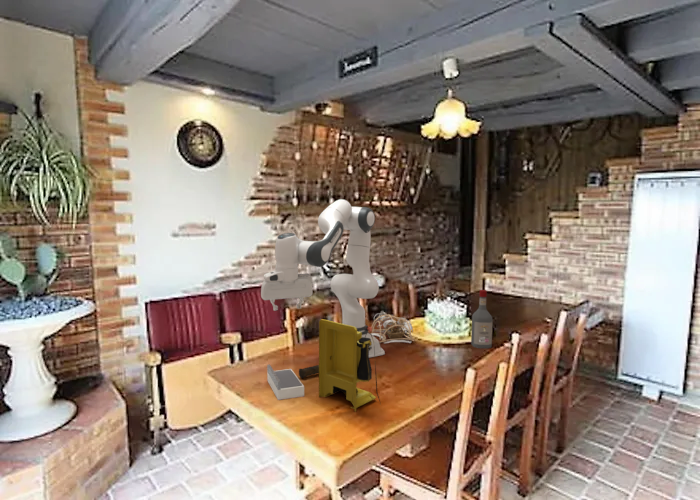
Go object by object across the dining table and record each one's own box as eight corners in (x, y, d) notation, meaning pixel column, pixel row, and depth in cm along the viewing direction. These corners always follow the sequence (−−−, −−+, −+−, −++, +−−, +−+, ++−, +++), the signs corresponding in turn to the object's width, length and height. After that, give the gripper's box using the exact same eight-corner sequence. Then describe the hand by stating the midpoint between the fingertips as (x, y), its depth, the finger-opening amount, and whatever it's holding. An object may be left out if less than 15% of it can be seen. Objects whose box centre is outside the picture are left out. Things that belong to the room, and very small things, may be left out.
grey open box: (291, 377, 185) (291, 361, 184) (304, 396, 166) (304, 378, 166) (267, 380, 181) (267, 364, 181) (278, 400, 163) (277, 382, 162)
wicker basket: (359, 346, 236) (359, 318, 233) (383, 325, 267) (384, 299, 264) (408, 356, 224) (409, 326, 221) (428, 332, 255) (429, 306, 252)
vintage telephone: (396, 406, 159) (398, 324, 156) (372, 419, 148) (373, 332, 146) (334, 383, 180) (334, 310, 177) (309, 393, 169) (309, 316, 167)
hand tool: (302, 380, 182) (303, 369, 181) (297, 376, 185) (298, 365, 184) (340, 371, 193) (341, 361, 192) (335, 367, 196) (336, 358, 195)
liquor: (492, 350, 225) (494, 292, 222) (474, 350, 225) (476, 292, 223) (487, 345, 234) (489, 289, 231) (470, 344, 234) (472, 288, 232)
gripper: (309, 272, 180) (310, 305, 181) (259, 275, 172) (260, 309, 173) (314, 274, 174) (314, 308, 175) (262, 277, 166) (263, 313, 168)
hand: (287, 309), depth 174 cm, fingers open, 8 cm apart
